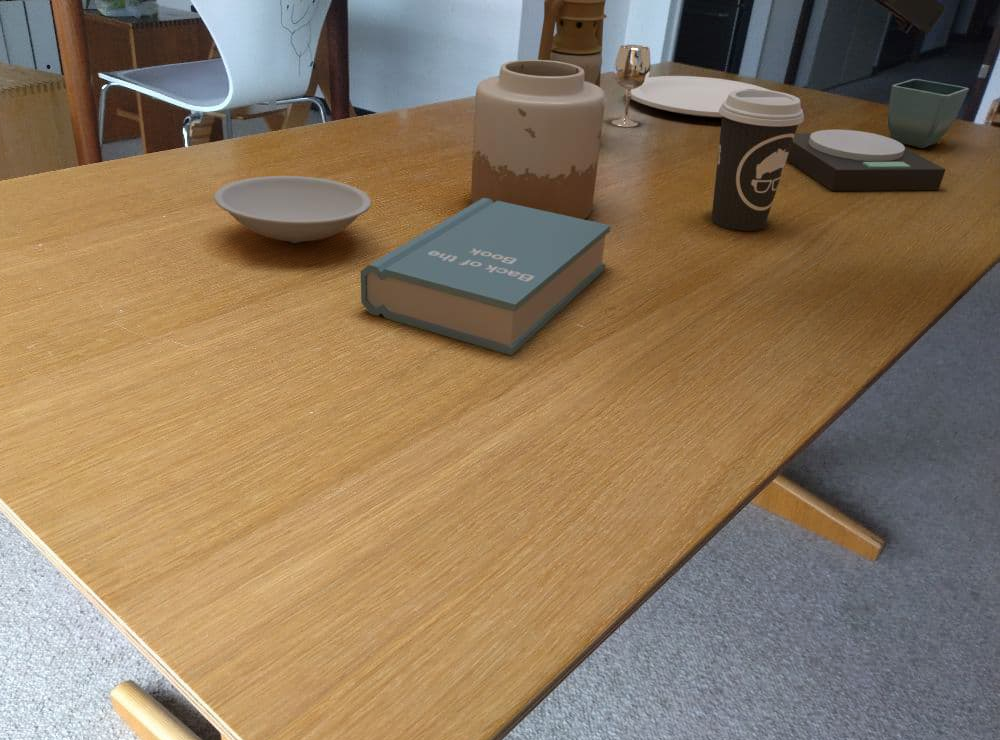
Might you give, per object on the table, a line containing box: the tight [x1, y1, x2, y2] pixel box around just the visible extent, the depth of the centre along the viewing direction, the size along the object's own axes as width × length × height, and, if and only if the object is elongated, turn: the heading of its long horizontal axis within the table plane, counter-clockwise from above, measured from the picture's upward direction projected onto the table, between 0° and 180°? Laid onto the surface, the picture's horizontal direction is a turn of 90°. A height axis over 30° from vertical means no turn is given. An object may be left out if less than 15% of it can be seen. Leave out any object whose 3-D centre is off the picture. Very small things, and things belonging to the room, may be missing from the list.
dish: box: [213, 175, 372, 244], centre depth 97 cm, size 18×14×5 cm
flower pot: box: [887, 78, 970, 149], centre depth 140 cm, size 9×9×9 cm
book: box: [360, 198, 611, 356], centre depth 88 cm, size 23×16×5 cm
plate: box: [625, 75, 770, 119], centre depth 159 cm, size 28×28×2 cm
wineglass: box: [611, 44, 651, 128], centre depth 144 cm, size 6×6×12 cm
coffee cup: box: [711, 89, 805, 232], centre depth 105 cm, size 10×10×15 cm
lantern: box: [537, 0, 608, 88], centre depth 128 cm, size 15×10×30 cm
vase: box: [470, 59, 606, 220], centre depth 106 cm, size 15×15×17 cm
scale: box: [786, 129, 946, 192], centre depth 128 cm, size 18×16×4 cm
